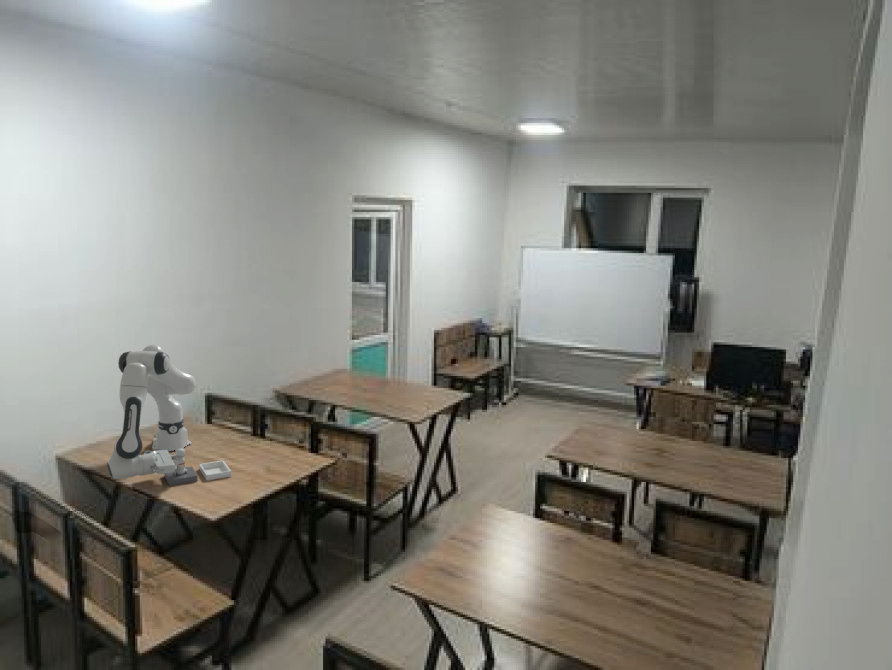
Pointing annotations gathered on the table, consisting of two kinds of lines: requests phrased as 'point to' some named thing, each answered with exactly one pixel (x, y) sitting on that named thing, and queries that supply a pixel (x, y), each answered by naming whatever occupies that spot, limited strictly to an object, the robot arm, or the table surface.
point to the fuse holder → (181, 477)
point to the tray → (215, 470)
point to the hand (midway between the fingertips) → (182, 458)
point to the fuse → (181, 467)
